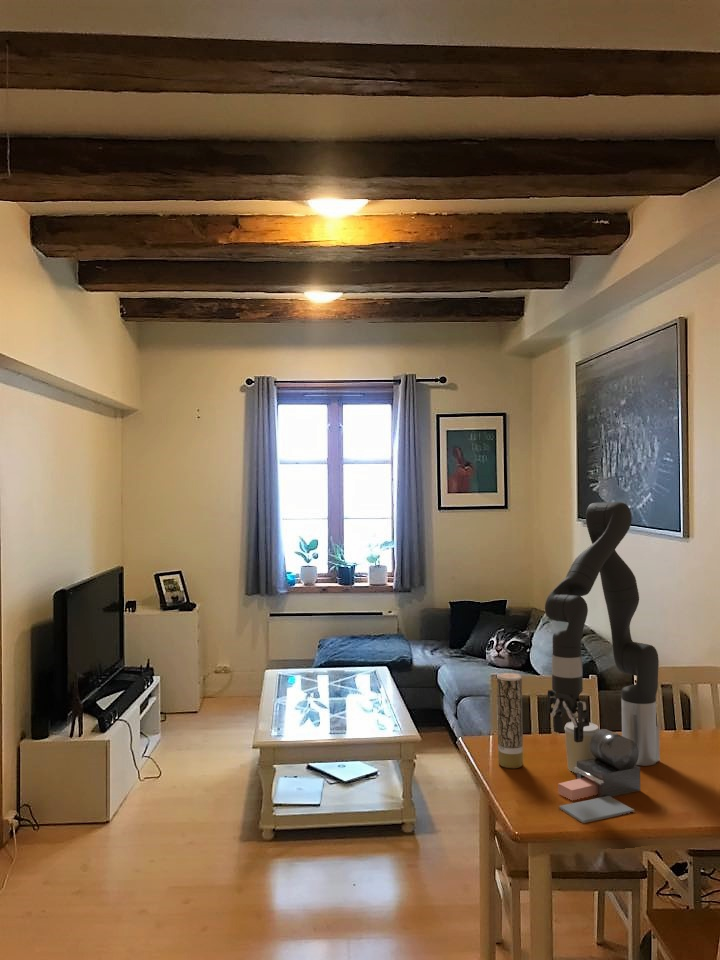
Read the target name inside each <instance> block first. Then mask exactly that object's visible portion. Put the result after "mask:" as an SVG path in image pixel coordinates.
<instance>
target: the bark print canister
mask: <svg viewBox="0 0 720 960" xmlns="http://www.w3.org/2000/svg"><path fill="white" fill-rule="evenodd" d="M496 676H497V677H496V678H497V679H496V683H497V685H496V687H497V691H496V692H497V693H496V694H497V698H496V699H497V701H496V702H497V751H498V755H497V756H498V757H497V759H498V764H499V765H500V766H501V767H503V768H504V769H505V768H506V769H518V768H521V767H523V765H524V758H523V757H524V747H523V746H524V743H523V739H524V737H523V735H524V734H523V733H524V732H523V731H524V730H523V680H522V679H523V677H522V675H521V674H519V673H515V672H503V673H498V674H497V675H496Z"/></svg>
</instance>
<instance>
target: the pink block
mask: <svg viewBox="0 0 720 960" xmlns="http://www.w3.org/2000/svg"><path fill="white" fill-rule="evenodd" d="M557 786H558V787H557V788H558V792H557V793H558V795H560V796H562V797H563V798H565V797H566V799H567V798H568V799H567V800H569V799H570V800H569V801H571V800H574V801H577V799H578V800H581V799H580V798H582V799H584V797H586V798H589V797H588V796H590V797H594V796H596V795H597V794H598V783H596V782H594V781H592V780H590V779H588V778H587V777H584V778H579V779H577V778H576V779H571V780H567V781H563V782H558V785H557ZM593 795H594V796H593Z"/></svg>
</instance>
